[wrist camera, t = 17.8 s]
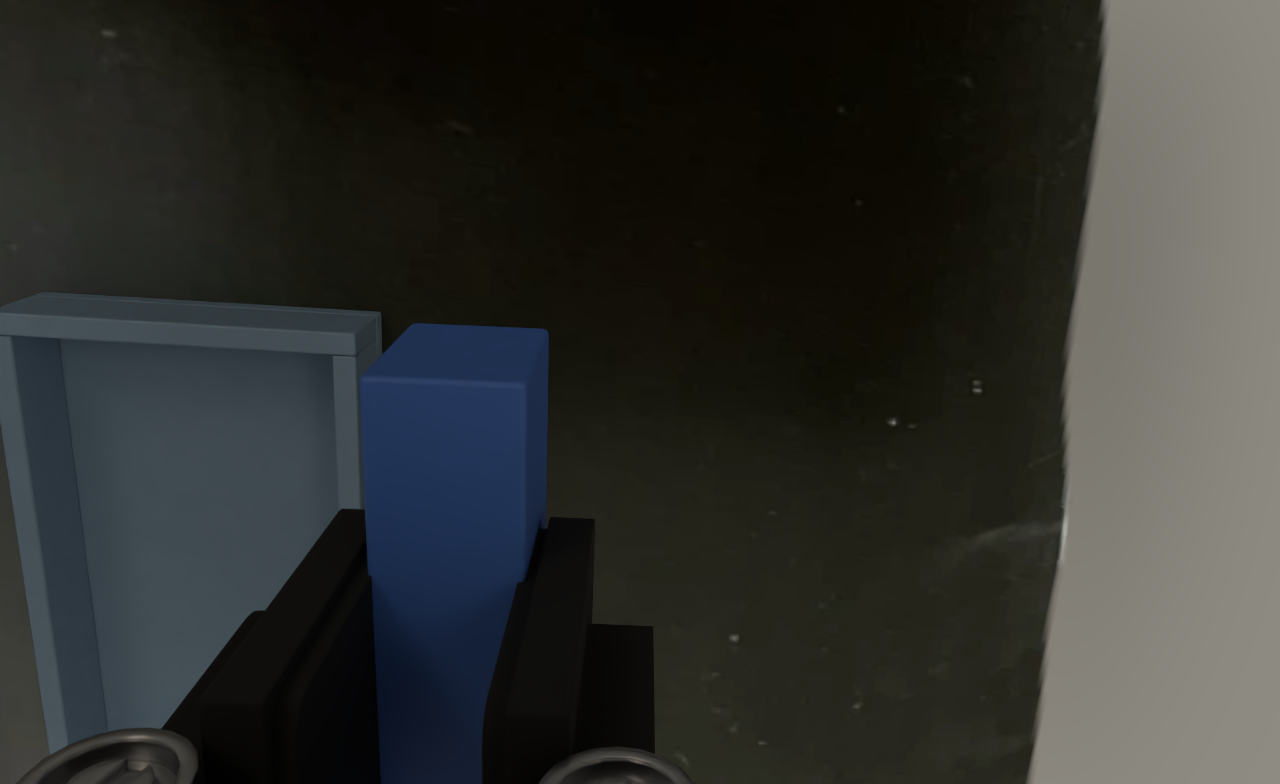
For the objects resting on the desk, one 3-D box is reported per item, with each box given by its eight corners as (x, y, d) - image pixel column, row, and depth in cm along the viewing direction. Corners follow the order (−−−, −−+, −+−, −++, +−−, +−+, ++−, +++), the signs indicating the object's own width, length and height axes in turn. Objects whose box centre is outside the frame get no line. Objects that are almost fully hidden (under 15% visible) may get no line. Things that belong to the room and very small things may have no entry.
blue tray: (43, 291, 26) (-18, 311, 24) (382, 311, 26) (355, 333, 24) (103, 760, 31) (57, 816, 29) (392, 776, 31) (370, 834, 29)
